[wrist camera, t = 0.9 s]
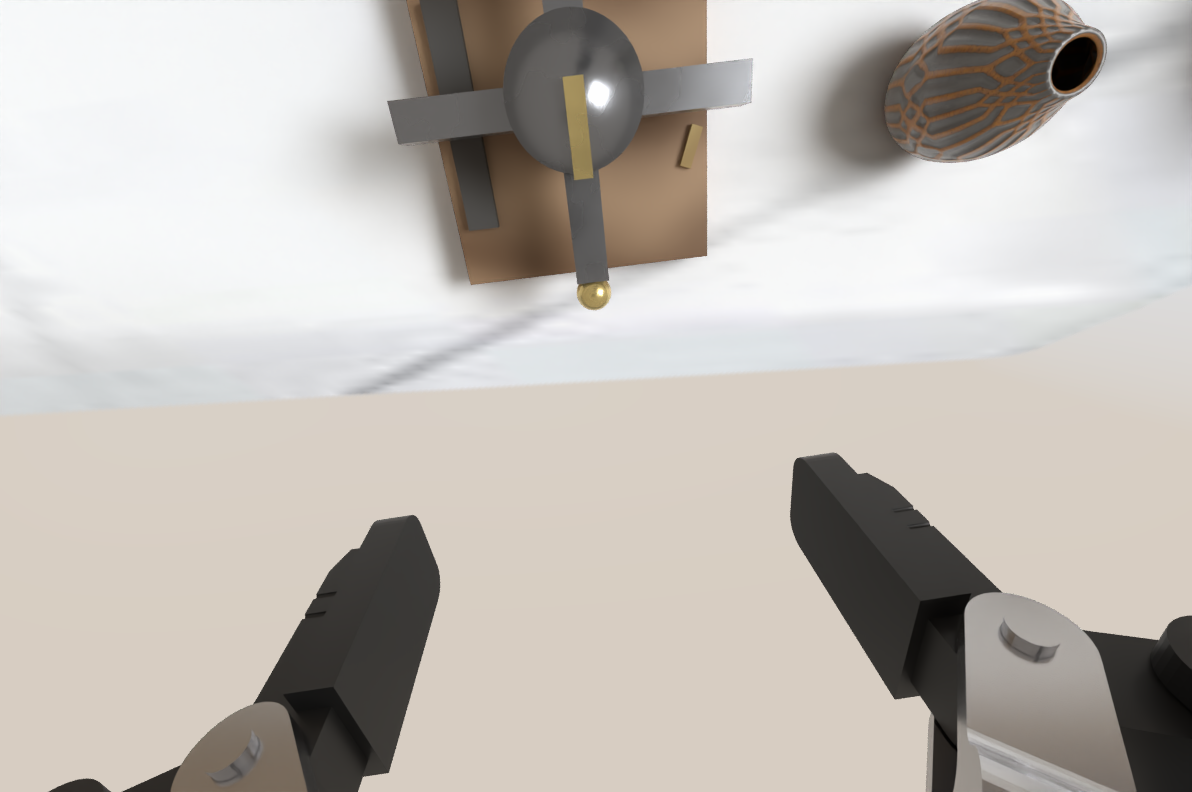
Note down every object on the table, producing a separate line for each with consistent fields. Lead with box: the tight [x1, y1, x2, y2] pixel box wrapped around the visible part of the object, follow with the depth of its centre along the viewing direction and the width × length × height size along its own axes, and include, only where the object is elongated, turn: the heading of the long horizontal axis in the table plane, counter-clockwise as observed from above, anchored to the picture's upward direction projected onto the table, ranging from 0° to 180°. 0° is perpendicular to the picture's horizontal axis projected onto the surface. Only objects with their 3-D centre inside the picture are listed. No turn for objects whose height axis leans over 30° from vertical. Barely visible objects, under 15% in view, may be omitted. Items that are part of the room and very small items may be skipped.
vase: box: [885, 0, 1107, 163], centre depth 22 cm, size 7×7×9 cm
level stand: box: [406, 0, 707, 285], centre depth 24 cm, size 16×14×3 cm
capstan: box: [387, 0, 753, 310], centre depth 21 cm, size 17×16×6 cm
